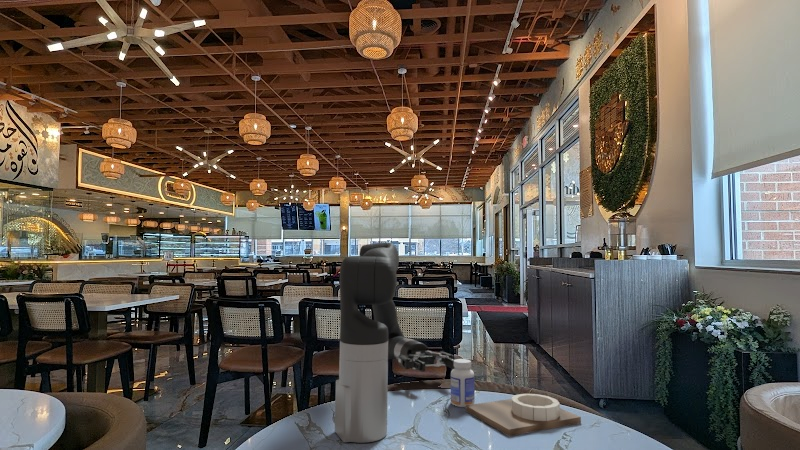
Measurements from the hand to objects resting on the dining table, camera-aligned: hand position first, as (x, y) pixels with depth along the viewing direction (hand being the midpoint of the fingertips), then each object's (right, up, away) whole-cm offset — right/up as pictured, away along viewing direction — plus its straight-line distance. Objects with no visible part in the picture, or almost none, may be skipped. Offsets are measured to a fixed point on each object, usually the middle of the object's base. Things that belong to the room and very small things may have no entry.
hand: (439, 366), depth 113 cm
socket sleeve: (+18, -4, -20) cm, 27 cm away
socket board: (+16, -5, -19) cm, 25 cm away
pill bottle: (+4, -6, -11) cm, 13 cm away
